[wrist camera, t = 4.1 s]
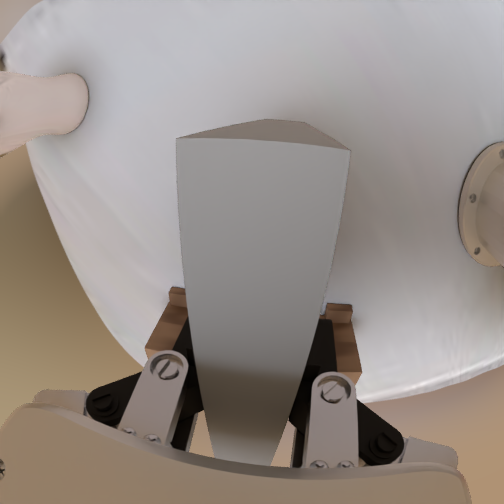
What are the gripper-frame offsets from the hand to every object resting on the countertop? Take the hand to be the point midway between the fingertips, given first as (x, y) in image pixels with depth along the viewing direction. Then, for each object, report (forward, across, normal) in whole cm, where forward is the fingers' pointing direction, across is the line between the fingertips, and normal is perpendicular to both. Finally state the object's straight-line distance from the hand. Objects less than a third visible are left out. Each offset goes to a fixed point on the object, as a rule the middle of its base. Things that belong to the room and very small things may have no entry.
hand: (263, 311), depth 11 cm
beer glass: (+12, +20, -10) cm, 25 cm away
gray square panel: (+9, 0, 0) cm, 9 cm away
